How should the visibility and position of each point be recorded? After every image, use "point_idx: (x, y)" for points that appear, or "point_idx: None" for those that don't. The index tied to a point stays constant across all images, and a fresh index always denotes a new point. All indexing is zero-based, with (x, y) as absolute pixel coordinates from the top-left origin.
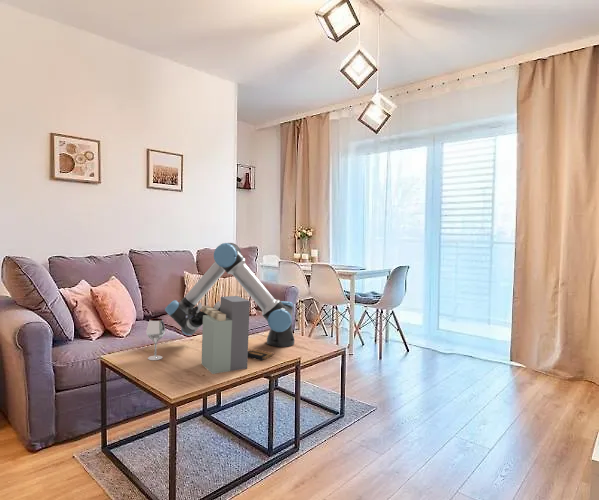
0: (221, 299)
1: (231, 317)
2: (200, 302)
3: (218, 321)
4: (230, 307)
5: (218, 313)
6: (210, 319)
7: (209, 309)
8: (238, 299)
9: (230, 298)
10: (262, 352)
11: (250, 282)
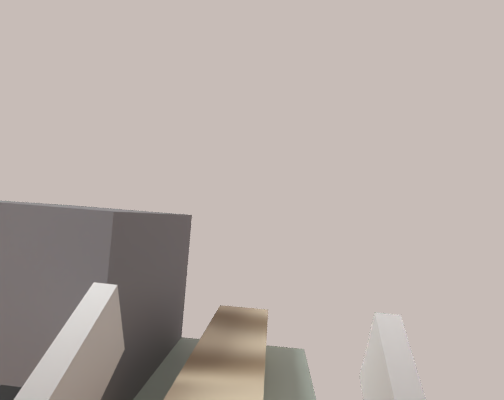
0: (122, 241)
1: (180, 322)
2: (386, 314)
3: (272, 347)
4: (180, 261)
5: (250, 320)
6: (306, 376)
7: (252, 390)
8: (90, 207)
9: (107, 209)
10: None
11: None
